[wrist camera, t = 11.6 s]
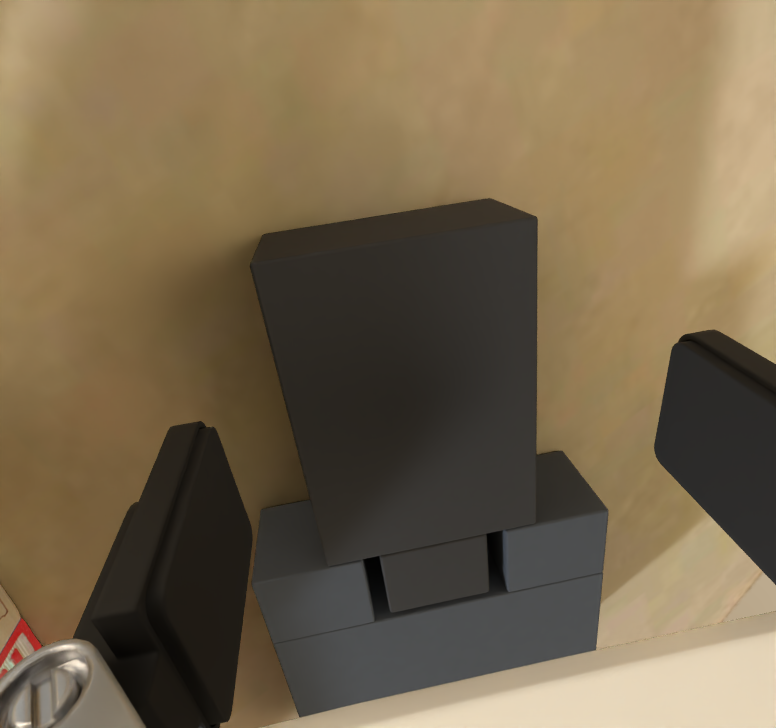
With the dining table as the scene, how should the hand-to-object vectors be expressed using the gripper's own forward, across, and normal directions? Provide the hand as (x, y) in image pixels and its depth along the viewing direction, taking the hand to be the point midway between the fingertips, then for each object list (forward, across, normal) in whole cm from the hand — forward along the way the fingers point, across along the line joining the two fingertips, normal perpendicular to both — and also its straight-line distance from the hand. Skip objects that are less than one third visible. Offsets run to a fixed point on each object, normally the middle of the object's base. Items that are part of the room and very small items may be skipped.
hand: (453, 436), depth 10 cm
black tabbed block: (+7, 0, +3) cm, 8 cm away
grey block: (+6, 0, +13) cm, 14 cm away
